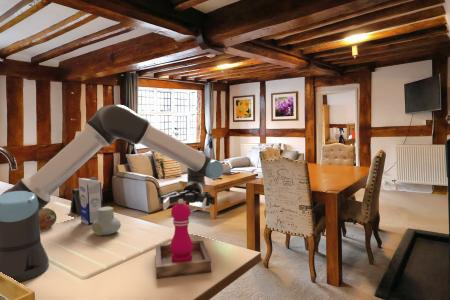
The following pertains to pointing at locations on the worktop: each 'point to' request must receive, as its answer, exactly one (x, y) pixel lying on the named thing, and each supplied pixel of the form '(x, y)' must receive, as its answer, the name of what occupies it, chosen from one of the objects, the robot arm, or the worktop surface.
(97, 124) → the robot arm
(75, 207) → the door stopper
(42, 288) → the worktop surface
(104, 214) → the air freshener
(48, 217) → the tin
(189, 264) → the walnut tray
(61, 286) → the worktop surface
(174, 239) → the pepper mill
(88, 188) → the milk carton
